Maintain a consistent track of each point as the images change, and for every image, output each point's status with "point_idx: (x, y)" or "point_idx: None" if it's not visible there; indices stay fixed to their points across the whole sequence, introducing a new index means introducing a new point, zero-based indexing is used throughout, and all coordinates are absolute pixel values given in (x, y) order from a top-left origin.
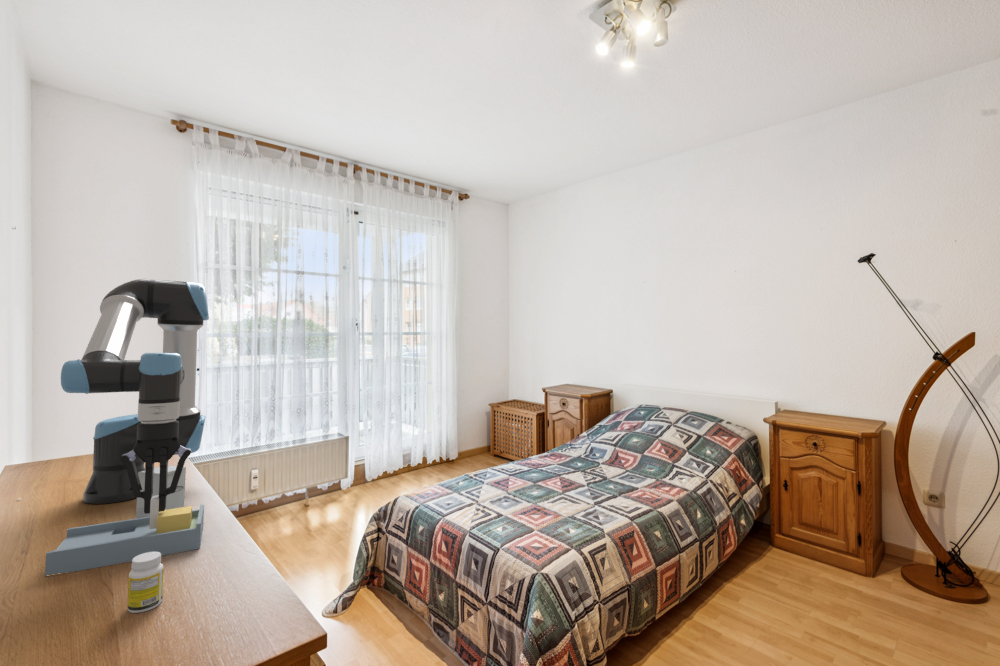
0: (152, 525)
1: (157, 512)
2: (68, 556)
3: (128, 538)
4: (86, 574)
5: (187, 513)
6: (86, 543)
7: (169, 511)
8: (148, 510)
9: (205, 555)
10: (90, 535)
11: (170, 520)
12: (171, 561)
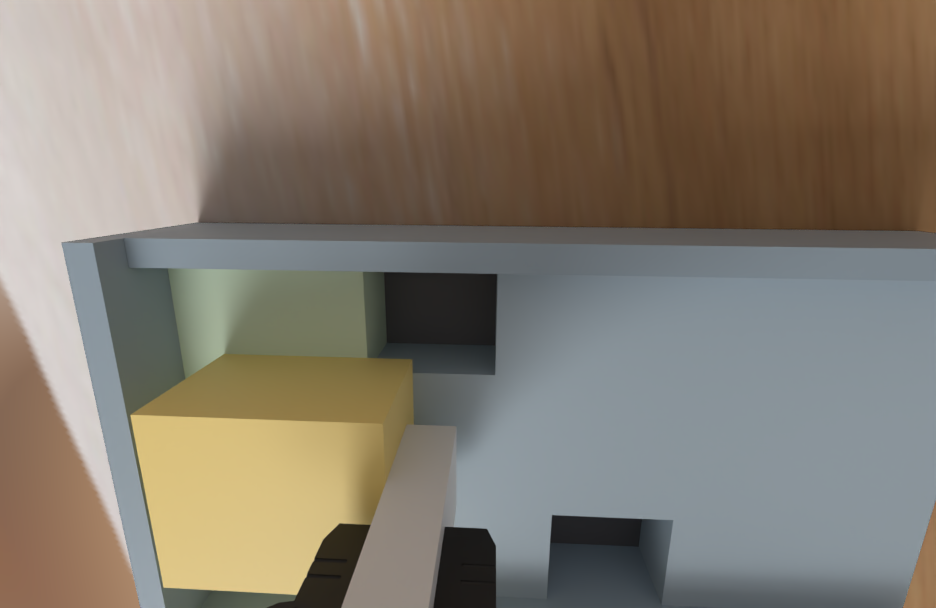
0: (435, 438)
1: (385, 501)
2: (895, 241)
3: (571, 404)
4: (728, 154)
5: (152, 412)
6: (796, 447)
7: (312, 536)
8: (458, 547)
9: (145, 93)
10: (780, 572)
11: (297, 398)
12: (317, 101)
